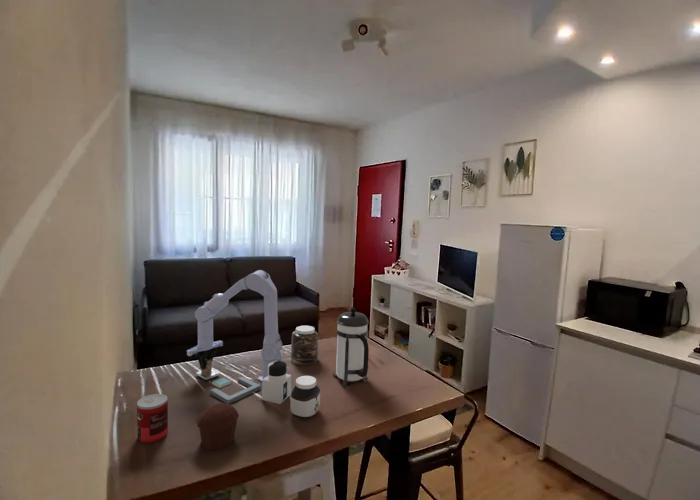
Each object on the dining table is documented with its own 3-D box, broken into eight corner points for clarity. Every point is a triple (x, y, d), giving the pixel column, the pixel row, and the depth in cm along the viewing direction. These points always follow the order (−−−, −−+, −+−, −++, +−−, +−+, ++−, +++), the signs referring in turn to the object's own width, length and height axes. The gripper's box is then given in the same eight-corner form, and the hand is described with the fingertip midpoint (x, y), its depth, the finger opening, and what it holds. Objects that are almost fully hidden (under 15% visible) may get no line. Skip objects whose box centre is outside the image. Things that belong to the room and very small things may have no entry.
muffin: (217, 457, 95) (218, 423, 94) (187, 446, 100) (187, 412, 99) (246, 433, 106) (246, 402, 105) (218, 423, 111) (218, 393, 110)
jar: (310, 353, 168) (311, 323, 167) (321, 362, 158) (322, 330, 157) (287, 357, 162) (288, 326, 161) (297, 367, 152) (297, 334, 151)
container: (291, 394, 130) (292, 360, 129) (280, 404, 123) (281, 369, 121) (273, 390, 132) (273, 357, 131) (261, 400, 125) (261, 365, 124)
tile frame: (260, 389, 133) (260, 385, 133) (228, 404, 122) (228, 400, 121) (242, 380, 139) (242, 376, 139) (210, 393, 128) (210, 389, 128)
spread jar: (305, 424, 112) (306, 389, 111) (278, 413, 117) (278, 380, 116) (326, 407, 122) (327, 375, 121) (300, 397, 128) (300, 367, 127)
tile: (230, 384, 136) (231, 381, 136) (219, 389, 132) (219, 385, 132) (223, 380, 139) (223, 377, 139) (211, 385, 135) (211, 381, 135)
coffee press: (324, 383, 139) (327, 309, 136) (340, 368, 154) (343, 301, 151) (366, 393, 133) (369, 316, 129) (378, 376, 147) (382, 306, 144)
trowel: (209, 369, 146) (209, 354, 145) (219, 374, 142) (219, 359, 141) (195, 374, 141) (196, 359, 140) (205, 380, 137) (205, 364, 136)
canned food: (145, 427, 107) (144, 393, 106) (172, 427, 108) (172, 393, 107) (131, 444, 99) (131, 407, 98) (161, 443, 100) (160, 407, 99)
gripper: (216, 328, 149) (216, 359, 150) (182, 337, 137) (182, 370, 138) (225, 332, 145) (225, 364, 146) (192, 341, 133) (192, 376, 134)
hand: (205, 367), depth 142 cm, fingers closed on trowel
